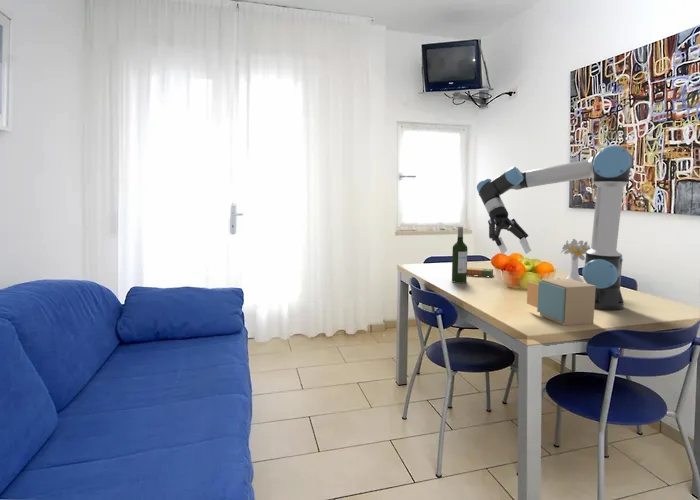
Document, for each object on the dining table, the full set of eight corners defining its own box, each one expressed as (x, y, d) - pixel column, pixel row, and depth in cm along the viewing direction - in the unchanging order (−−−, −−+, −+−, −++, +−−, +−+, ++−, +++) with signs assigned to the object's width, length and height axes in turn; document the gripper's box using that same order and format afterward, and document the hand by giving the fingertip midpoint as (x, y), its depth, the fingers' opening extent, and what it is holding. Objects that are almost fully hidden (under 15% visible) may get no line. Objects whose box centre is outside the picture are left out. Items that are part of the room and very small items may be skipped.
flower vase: (566, 294, 201) (569, 241, 198) (554, 286, 219) (557, 238, 216) (596, 295, 199) (599, 242, 196) (581, 286, 217) (584, 238, 214)
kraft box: (566, 313, 169) (568, 278, 167) (593, 323, 155) (595, 285, 153) (539, 314, 166) (541, 279, 165) (564, 325, 153) (566, 287, 151)
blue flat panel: (528, 306, 173) (529, 277, 171) (563, 321, 153) (565, 288, 151) (526, 306, 173) (527, 277, 171) (561, 321, 152) (563, 288, 151)
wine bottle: (459, 279, 238) (460, 226, 234) (469, 282, 231) (471, 227, 227) (448, 281, 234) (449, 226, 230) (459, 283, 227) (460, 227, 223)
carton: (465, 273, 258) (465, 266, 258) (493, 275, 252) (493, 268, 251) (463, 276, 251) (463, 268, 250) (491, 278, 244) (492, 270, 244)
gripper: (511, 216, 194) (531, 256, 184) (469, 214, 183) (488, 256, 173) (523, 206, 188) (544, 247, 178) (480, 204, 178) (500, 247, 168)
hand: (516, 252), depth 176 cm, fingers open, 13 cm apart
